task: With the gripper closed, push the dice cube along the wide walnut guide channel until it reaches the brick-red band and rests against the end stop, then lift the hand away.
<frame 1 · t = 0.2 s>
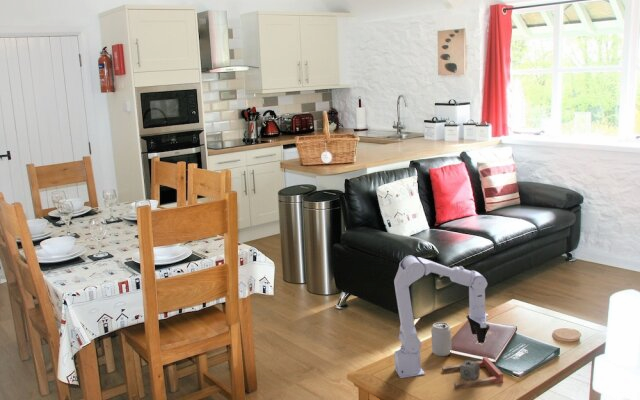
hand: (478, 338, 231), 10 cm above the table, tool pointing down, fingers open, 7 cm apart
dice cube: (470, 377, 223), resting in guide channel
guide channel: (469, 376, 223), on the table
can: (442, 353, 243), on the table
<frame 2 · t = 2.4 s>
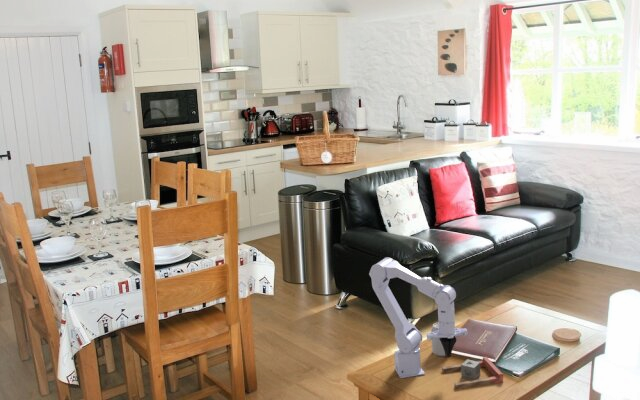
hand: (448, 355, 220), 9 cm above the table, tool pointing down, fingers closed
nothing on the table moved.
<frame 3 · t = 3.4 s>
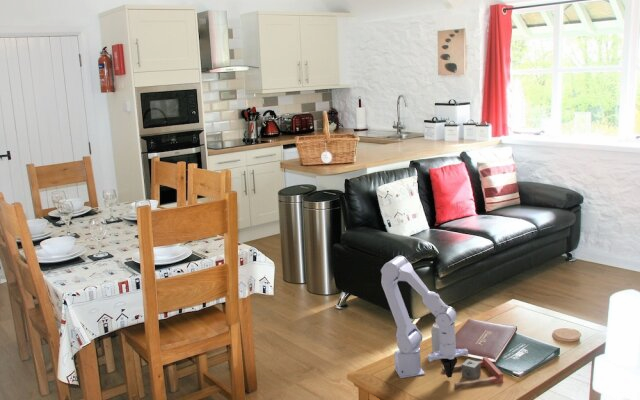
hand: (448, 376, 222), 1 cm above the table, tool pointing down, fingers closed
nothing on the table moved.
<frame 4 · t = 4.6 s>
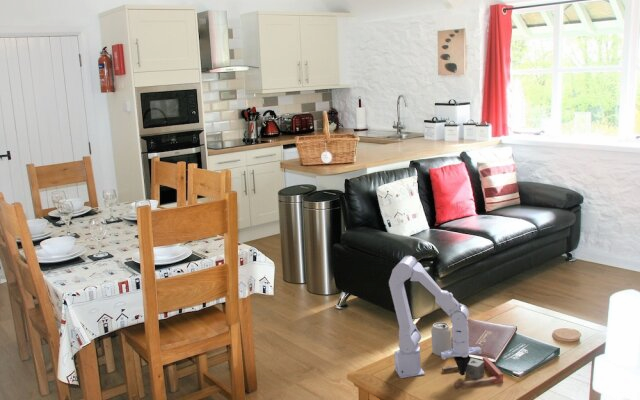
hand: (462, 374, 222), 1 cm above the table, tool pointing down, fingers closed
dice cube: (475, 375, 224), resting in guide channel, touching gripper
everything else where it was.
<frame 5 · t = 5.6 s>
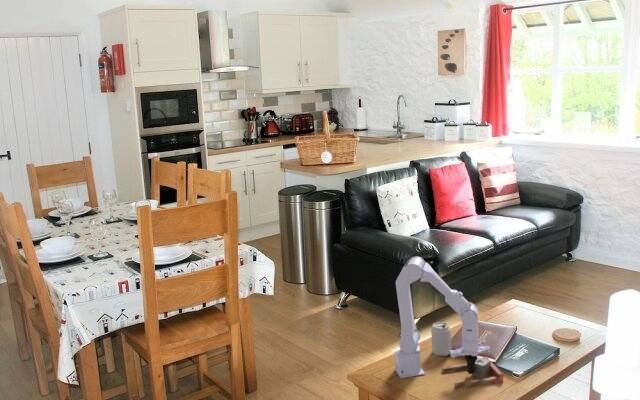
hand: (470, 372, 223), 1 cm above the table, tool pointing down, fingers closed, pressing on dice cube
dice cube: (481, 374, 224), resting in guide channel, touching gripper
everything else where it was.
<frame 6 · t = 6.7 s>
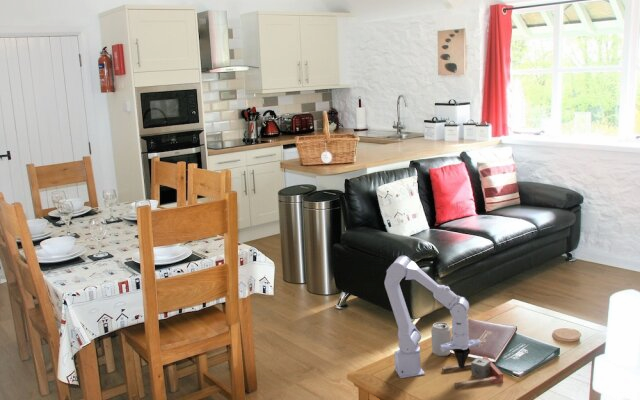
hand: (461, 366, 222), 4 cm above the table, tool pointing down, fingers closed
dice cube: (481, 374, 224), resting in guide channel
everything else where it was.
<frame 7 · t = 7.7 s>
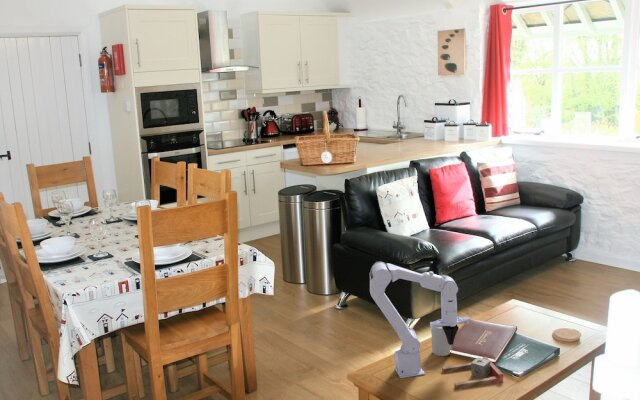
hand: (450, 343, 228), 10 cm above the table, tool pointing down, fingers closed
nothing on the table moved.
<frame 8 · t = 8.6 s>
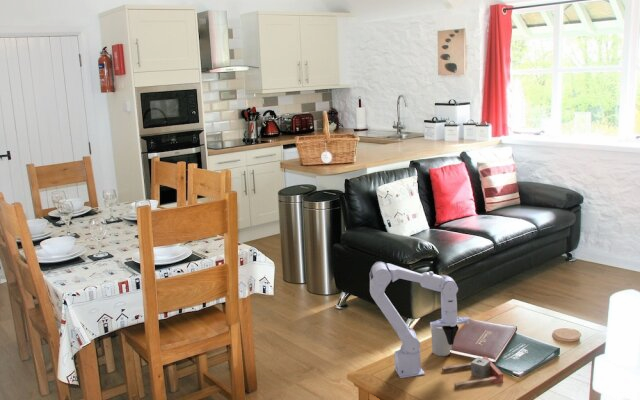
hand: (450, 343, 228), 10 cm above the table, tool pointing down, fingers closed
nothing on the table moved.
at the end: dice cube inside the target area (0.9 cm from its centre), resting in guide channel; dice cube tilted 0°; the gripper is holding nothing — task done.
